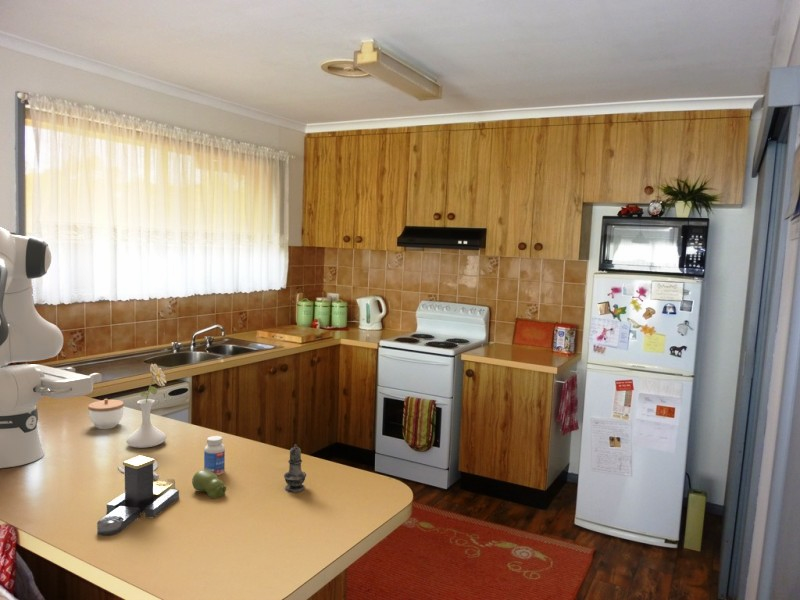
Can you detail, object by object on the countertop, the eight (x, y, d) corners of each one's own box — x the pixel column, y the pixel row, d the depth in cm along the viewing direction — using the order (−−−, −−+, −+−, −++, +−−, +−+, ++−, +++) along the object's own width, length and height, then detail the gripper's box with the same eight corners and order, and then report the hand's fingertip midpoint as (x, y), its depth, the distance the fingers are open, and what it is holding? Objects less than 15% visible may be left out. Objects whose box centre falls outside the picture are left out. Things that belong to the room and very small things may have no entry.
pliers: (153, 456, 170) (171, 472, 158) (153, 461, 170) (171, 478, 158) (116, 463, 163) (132, 481, 152) (116, 469, 163) (132, 487, 152)
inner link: (161, 484, 153) (161, 477, 153) (178, 486, 152) (178, 479, 152) (139, 500, 144) (139, 492, 144) (158, 502, 143) (158, 494, 143)
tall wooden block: (137, 514, 137) (136, 465, 135) (123, 509, 139) (123, 461, 138) (154, 506, 141) (154, 459, 140) (141, 502, 143) (140, 455, 142)
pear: (206, 464, 154) (232, 479, 149) (204, 482, 155) (229, 498, 150) (188, 470, 149) (214, 486, 144) (186, 489, 150) (212, 505, 145)
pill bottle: (218, 477, 159) (218, 442, 158) (200, 475, 160) (200, 440, 159) (228, 469, 164) (228, 435, 163) (210, 467, 165) (210, 434, 164)
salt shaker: (310, 485, 155) (310, 441, 154) (299, 494, 150) (300, 449, 149) (290, 482, 157) (291, 438, 156) (279, 490, 152) (279, 445, 150)
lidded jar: (130, 425, 200) (130, 398, 199) (100, 433, 191) (99, 405, 190) (112, 419, 205) (112, 393, 204) (82, 427, 196) (81, 399, 195)
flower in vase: (148, 453, 175) (146, 371, 172) (117, 448, 178) (116, 367, 176) (177, 439, 187) (177, 362, 184) (148, 434, 191) (147, 359, 188)
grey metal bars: (135, 493, 148) (135, 485, 148) (178, 497, 146) (178, 489, 146) (78, 532, 128) (77, 523, 127) (128, 538, 126) (127, 529, 126)
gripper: (50, 378, 113) (116, 366, 125) (-7, 364, 123) (59, 354, 135) (51, 410, 114) (116, 395, 126) (-5, 394, 124) (60, 381, 136)
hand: (86, 373), depth 130 cm, fingers open, 8 cm apart
